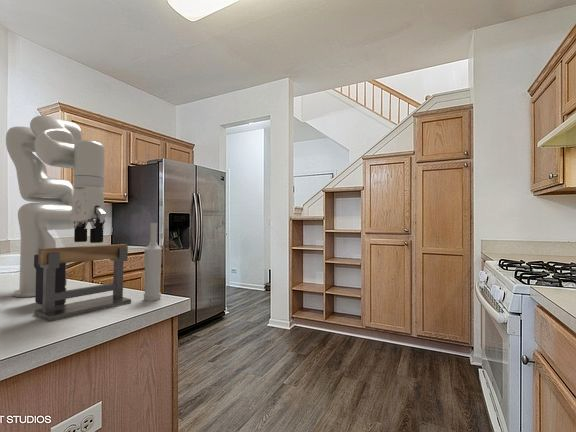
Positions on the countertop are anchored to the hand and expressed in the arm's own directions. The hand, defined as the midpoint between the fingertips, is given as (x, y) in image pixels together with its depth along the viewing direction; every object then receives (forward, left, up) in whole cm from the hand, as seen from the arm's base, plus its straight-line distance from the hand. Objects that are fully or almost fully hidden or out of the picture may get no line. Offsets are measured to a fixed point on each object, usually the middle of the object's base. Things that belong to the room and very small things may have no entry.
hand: (88, 242), depth 87 cm
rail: (0, 0, -5) cm, 5 cm away
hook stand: (0, 0, -19) cm, 19 cm away
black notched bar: (-14, -4, -20) cm, 25 cm away
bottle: (+6, +17, -20) cm, 26 cm away
